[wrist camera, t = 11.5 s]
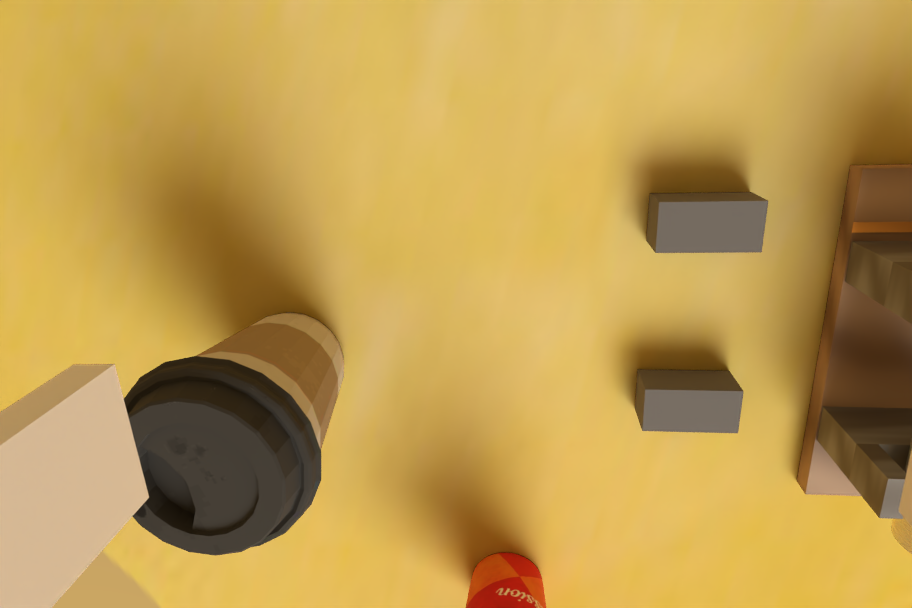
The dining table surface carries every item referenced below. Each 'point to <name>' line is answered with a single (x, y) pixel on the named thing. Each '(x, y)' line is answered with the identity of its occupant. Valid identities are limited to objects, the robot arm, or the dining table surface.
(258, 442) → the coffee cup
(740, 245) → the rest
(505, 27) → the dining table surface
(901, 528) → the silver metal cylinder
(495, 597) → the paper cup
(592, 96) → the dining table surface
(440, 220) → the dining table surface
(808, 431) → the dark grey notched piece
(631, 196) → the dining table surface
